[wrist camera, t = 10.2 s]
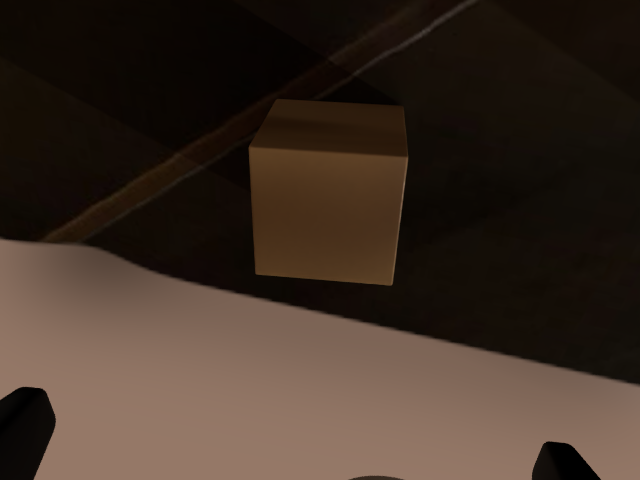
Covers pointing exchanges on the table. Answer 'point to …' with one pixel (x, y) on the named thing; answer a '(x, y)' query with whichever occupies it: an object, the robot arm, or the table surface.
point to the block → (328, 190)
